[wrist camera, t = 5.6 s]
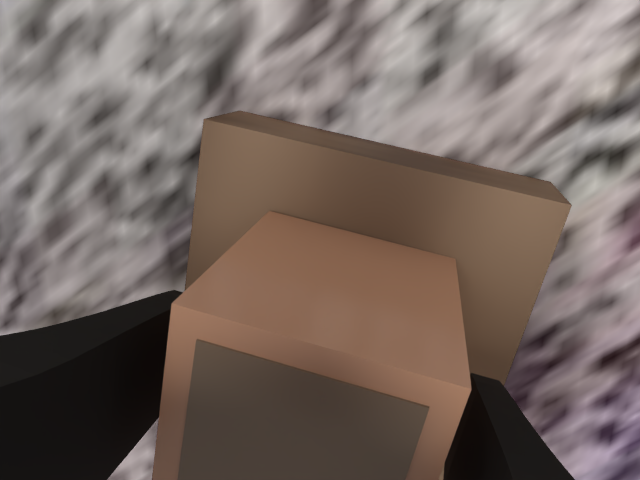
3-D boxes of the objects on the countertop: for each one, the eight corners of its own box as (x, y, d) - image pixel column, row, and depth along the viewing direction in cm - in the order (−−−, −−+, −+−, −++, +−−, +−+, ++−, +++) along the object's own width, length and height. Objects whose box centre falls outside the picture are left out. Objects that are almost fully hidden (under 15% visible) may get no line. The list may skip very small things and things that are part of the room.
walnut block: (211, 358, 19) (171, 408, 16) (245, 109, 16) (203, 119, 13) (457, 433, 18) (460, 500, 15) (547, 178, 15) (572, 205, 12)
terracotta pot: (242, 366, 15) (146, 524, 10) (269, 210, 14) (170, 305, 8) (405, 414, 15) (392, 607, 10) (455, 258, 13) (472, 390, 8)
